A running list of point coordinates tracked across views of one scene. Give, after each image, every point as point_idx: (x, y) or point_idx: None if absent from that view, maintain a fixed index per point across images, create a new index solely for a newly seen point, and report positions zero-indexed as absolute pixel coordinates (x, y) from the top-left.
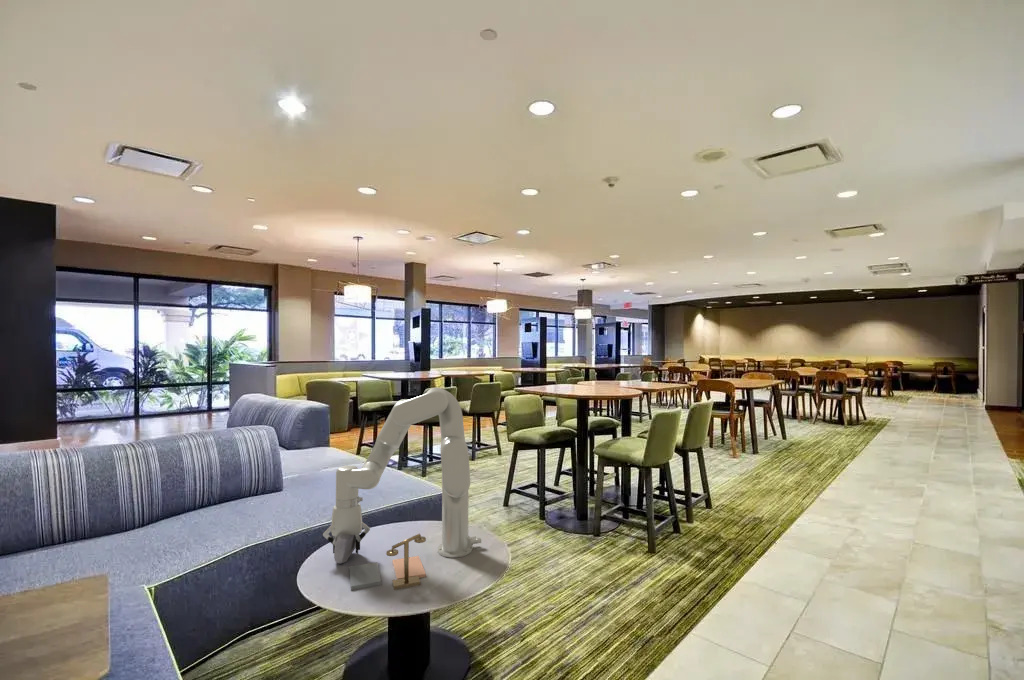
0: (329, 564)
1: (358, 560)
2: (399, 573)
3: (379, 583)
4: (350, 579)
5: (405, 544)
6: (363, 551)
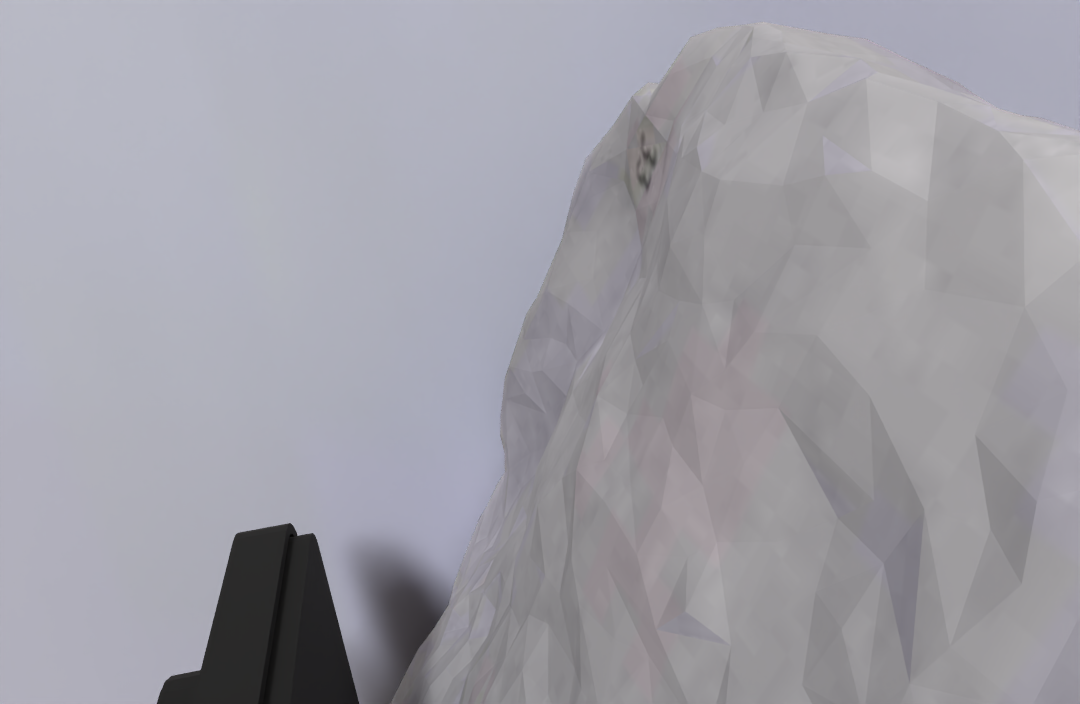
0: (186, 666)
1: None
2: None
3: None
4: None
5: None
6: (1049, 16)
